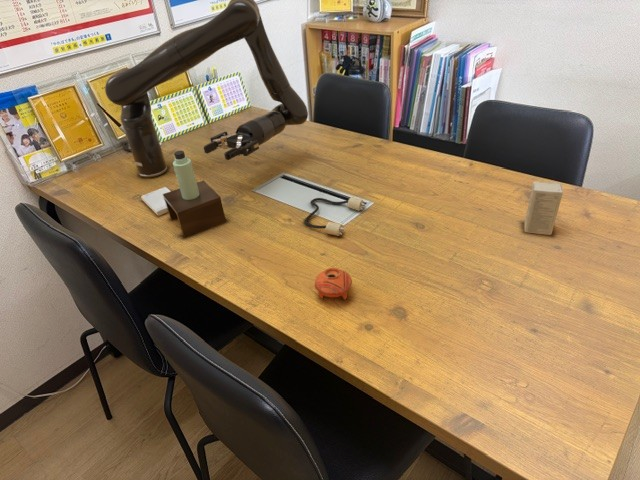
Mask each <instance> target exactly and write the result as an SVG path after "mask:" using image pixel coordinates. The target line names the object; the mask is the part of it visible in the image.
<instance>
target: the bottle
mask: <svg viewBox="0 0 640 480" xmlns="http://www.w3.org/2000/svg"><path fill="white" fill-rule="evenodd" d="M173 155H174V161H173V162H172V167H173V170H174V174H175V176H176V180H177V184H178V188H179V189H180V191H181V194H182V198H183V199H185V200H191V199H195V198H197V197H198V196H199V194H200V193H199V189H198V186H197V182H198V181H197V179H196V173H195V171H194V167H193V163H192V160H191V159H190V158H188V157H187V155H185V151H184V150H176V151H175V152H174V153H173Z"/></svg>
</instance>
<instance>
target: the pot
mask: <svg viewBox="0 0 640 480" xmlns="http://www.w3.org/2000/svg"><path fill="white" fill-rule="evenodd" d="M352 284H353V280H352V277H351V274H349V273H348V272H346V271H345V270H343V269H339V268H338V267H329V268H327V269H325V270H323V271H321V272H320V273H319V274H317V276H316V277H315V279H314V287H315V290H317V292H318V295H319V297H320V298H321V299H323V298H324V296H325V297H328V298H338V297H340V296H341V297H342V299H343V300H344V301H345V300H346V299H347V297H348V291H350V289H351V287H352Z"/></svg>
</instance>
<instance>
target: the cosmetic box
mask: <svg viewBox="0 0 640 480" xmlns="http://www.w3.org/2000/svg"><path fill="white" fill-rule="evenodd" d="M531 187H532V188H531V191H530V194H529V195H530V196H529V200H528V205H527V209H526V214H525V219H524V222H523V223H524V224H523V225H524V228H523V229H524V233H529V234H538V235H547V236H548V235H549V236H552V235H553V231H554V227H555V224H556V219H557V216H558V212H559V208H560V205H561V202H562V201H561V200H562V197H563V194H564V190H563V185H562V183H560V182H548V181H547V182H546V181H533V182H532V186H531Z"/></svg>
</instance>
